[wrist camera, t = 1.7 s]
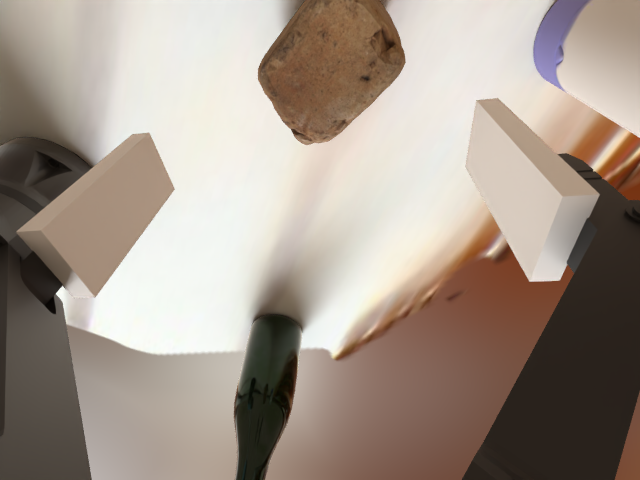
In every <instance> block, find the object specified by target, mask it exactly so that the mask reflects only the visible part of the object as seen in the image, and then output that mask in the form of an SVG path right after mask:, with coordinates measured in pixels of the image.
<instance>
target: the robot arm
mask: <svg viewBox="0 0 640 480" xmlns="http://www.w3.org/2000/svg"><path fill="white" fill-rule="evenodd" d="M465 167H466V169H467V171H468V173H469V175H470V176H471V178H472V180H473V182H474V183H475V185H476V187H477V189H478V191H479V192H480V194H481V196H482V198H483V199H484V201H485V203H486V205H487V207H488V208H489V210H490V212H491V214H492V215H493V217H494V219H495V221H496V223H497V224H498V226H499V228H500V230H501V231H502V233H503V235H504V237H505V239H506V240H507V242H508V244H509V246H510V247H511V249H512V251H513V253H514V255H515V256H516V258H517V260H518V261H519V263H520V265H521V267H522V269H523V271H524V272H525V274H526V276H527V278H528V279H529V281H557V280H560V279H561V276H562V274H563V272H564V270H565V268H566V266H567V264H568V265H569V267H570V268H571V269H572V271H573V272H574V275H573V277H572V279H571V280H570V282H569V284H568V286H567V288H566V290H565V292H564V294H563V295H562V297H561V299H560V301H559V303H558V305H557V306H556V308H555V310H554V312H553V314H552V316H551V318H550V320H549V321H548V323H547V325H546V327H545V329H544V331H543V332H542V334H541V336H540V338H539V340H538V342H537V344H536V345H535V347H534V349H533V351H532V353H531V355H530V357H529V358H528V360H527V362H526V364H525V366H524V368H523V370H522V371H521V373H520V375H519V377H518V379H517V381H516V383H515V384H514V386H513V388H512V390H511V392H510V394H509V396H508V398H507V399H506V401H505V403H504V405H503V407H502V409H501V410H500V412H499V414H498V416H497V418H496V420H495V422H494V424H493V425H492V427H491V429H490V431H489V433H488V435H487V436H486V438H485V440H484V442H483V444H482V445H481V447H480V449H479V450H478V452H477V453H476V455H475V457H474V458H473V460H472V462H471V464H470V466H469V467H468V470H467V471H466V473H465V475H464V477H463V478H462V480H615V476H616V472H617V469H618V466H619V462H620V459H621V455H622V451H623V448H624V444H625V441H626V437H627V434H628V430H629V427H630V423H631V420H632V416H633V413H634V409H635V406H636V402H637V398H638V395H639V391H640V201H639V200H628V199H626V198H625V197H624V196H623V195H622V194H621V193H619V192H618V191H617V190H616V189H615V188H614V187H613V186H611V185H610V184H609V183H608V182H607V181H606V180H604V179H602V177H601V176H600V175H599V174H598V173H596V172H593V169H592V168H591V167H589V166H588V165H587V164H586V163H585V162H584V161H582V160H580V159H578V158H576V157H573V156H571V155H569V154H567V153H566V154H557V153H556V152H554V151H553V150H552V149H551V148H550V147H549V146H548V145H547V144H546V143H545V142H544V141H543V140H542V139H541V138H540V137H539V136H537V135H536V134H535V133H534V132H533V131H532V130H531V129H530V128H529V127H528V126H527V125H526V124H525V123H524V122H523V121H522V120H520V119H519V118H518V117H517V116H516V115H515V114H514V113H513V112H512V111H511V110H510V109H509V108H508V107H507V106H506V105H505V104H503V103H502V102H501V101H500V100H499V99H498V98H495V99H485V100H476V105H475V111H474V117H473V123H472V129H471V135H470V141H469V147H468V153H467V159H466V165H465ZM173 191H174V187H173V184H172V182H171V180H170V178H169V175H168V173H167V171H166V169H165V167H164V164H163V162H162V160H161V158H160V156H159V153H158V151H157V149H156V147H155V144H154V142H153V140H152V138H151V136H150V133H142V134H132V135H131V136H130V137H129V138H128V139H126V140H125V141H124V142H123V143H122V144H120V145H119V146H118V147H117V148H116V149H114V150H113V151H112V152H111V153H110V154H108V155H107V156H106V157H105V158H104V159H102V160H101V161H100V162H99V163H98V164H96V165H95V166H94V167H93V168H91V167H90V166H89V165H88V164H87V163H86V162H84V161H83V160H82V159H81V158H79V157H78V156H77V155H75V154H74V153H72V152H71V151H69V150H67V149H66V148H64V147H62V146H60V145H57V144H55V143H52V142H50V141H47V140H43V139H39V138H32V137H21V138H16V139H12V140H10V141H8V142H6V143H4V144H3V145H1V146H0V480H92V479H91V473H90V467H89V461H88V455H87V449H86V442H85V436H84V430H83V424H82V418H81V412H80V406H79V400H78V394H77V388H76V383H75V376H74V370H73V364H72V358H71V351H70V346H69V339H68V334H67V327H66V321H65V315H64V309H63V303H62V301H61V300H60V298H59V297H58V296H57V295H56V292H57V291H58V290H59V289H60V288H61V287H62V285H63V287H64V288H65V289H66V290H67V291H68V292H69V294H70V295H71V296H72V297H73V298H95V297H96V296H97V294H98V293H99V292H100V290H101V289H102V288H103V286H104V285H105V283H106V282H107V281H108V279H109V278H110V277H111V275H112V274H113V273H114V271H115V270H116V268H117V267H118V266H119V264H120V263H121V262H122V260H123V259H124V258H125V256H126V255H127V254H128V252H129V251H130V249H131V248H132V247H133V245H134V244H135V243H136V241H137V240H138V239H139V237H140V236H141V234H142V233H143V232H144V230H145V229H146V228H147V226H148V225H149V224H150V222H151V221H152V219H153V218H154V217H155V215H156V214H157V213H158V211H159V210H160V209H161V207H162V206H163V204H164V203H165V202H166V200H167V199H168V198H169V196H170V195H171V194H172V192H173Z"/></svg>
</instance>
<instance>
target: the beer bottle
mask: <svg viewBox="0 0 640 480" xmlns="http://www.w3.org/2000/svg"><path fill="white" fill-rule="evenodd" d="M301 341H302V330H301V328H300V326H299V325H298V324H297V323H296V322H295V321H294V320H292V319H290V318H288V317H285V316H281V315H266V316H262V317H260V318H258V319H257V320H255V321H254V323H253V324H252V326H251V330H250V333H249V337H248V341H247V345H246V350H245V354H244V359H243V363H242V367H241V372H240V376H239V381H238V385H237V391H236V396H235V402H234V423H235V432H236V441H237V467H236V474H235V480H265V479H266V474H267V470H268V467H269V463H270V460H271V458H272V455H273V452H274V450H275V448H276V446H277V444H278V442H279V440H280V438H281V436H282V434H283V432H284V430H285V428H286V426H287V423H288V420H289V417H290V414H291V410H292V405H293V399H294V394H295V387H296V379H297V372H298V365H299V357H300V349H301Z"/></svg>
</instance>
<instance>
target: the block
mask: <svg viewBox="0 0 640 480" xmlns="http://www.w3.org/2000/svg"><path fill="white" fill-rule="evenodd" d="M404 65H405V54H404V50H403V48H402V46H401V41H400V37H399V34H398V32H397V29H396V27H395V26H394V24H393V21H392V19H391V17H390V15H389V14H388V12H387V11H386V9H385V8H384V6H383V5H382V3H381V2H380V0H305V1H304V3H303V4H302V5H301V7H300V8H299V9H298V11H297V12H296V14H295V15H294V16H293V17H292V19H291V20H290V21H289V23H288V24H287V26H286V27H285V28H284V30H283V31H282V32H281V34H280V35H279V36H278V38H277V39H276V40H275V42H274V43H273V44H272V46H271V47H270V49H269V50H268V52H267V53H266V54H265V56H264V58H263V59H262V61H261V63H260V66H259V68H258V80H259V82H260V84H261V86H262V88H263V91H264V93H265V94H266V95H267V96H268V98H269V99H270V100H271V102H272V103H273V106H274V108H275V110H276V112H277V113H278V115H279V116H280V117H281V119H282V121H283V122H284V123H285V124H286V125H287V126H288V127H289V128H291V130H292V132H293V134H294V136H295V138H296V139H297V140H298V141H300V142H301V143H303V144H305V145H310V144H312V143H322V142H327V141H330V140H331V139H333V138H334V137H335V136H337V135H338V134H340V133H341V132H342V131H343V130H344V129H345V128H346V127H347V126H348V125H349V124H350V123H351V122H352V121H353V120H354V119H355V118H356V117H358V116H359V115H360V114H361V113H362V112H363V111H364V110H365V109H366V108H368V107H369V106H370V105H371V104H372V103H373V102H374V101H375V100H376V99H377V97H378V96H379V95H380V94H381V93H382V92H383V91H384V90H385V89H386V88H387V87H389V86H390V85H391V84H392V82H393V81H394V80H395V79H396V78H397V77H398V75H399V74H400V72H401V71H402V69H403V67H404Z"/></svg>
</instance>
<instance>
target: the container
mask: <svg viewBox="0 0 640 480" xmlns="http://www.w3.org/2000/svg"><path fill="white" fill-rule="evenodd" d="M534 62H535V66H536V68H537V70H538V72H539V73H540V75H541V76H542V77H543V78H544V79H545V80H547V81H548V82H550V83H552V84H553V85H555V86H557V87H558V88H560V89H561V90H563V91H565V92H566V93H568V94H570V95H571V96H573V97H574V98H576V99H578V100H579V101H581V102H583V103H584V104H586V105H587V106H589V107H591V108H592V109H594V110H596V111H597V112H599V113H600V114H602V115H604V116H605V117H607V118H609V119H610V120H612V121H613V122H615V123H617V124H618V125H620V126H622V127H623V128H625V129H626V130H628V131H630V132H631V133H633V134H635V135H636V136H638V137H639V138H640V0H557V1H556V3H555V4H554V5H553V6H552V7H551V9H550V10H549V12H548V13H547V14H546V16H545V18H544V19H543V21H542V23H541V25H540V27H539V30H538V32H537V35H536V39H535V43H534Z"/></svg>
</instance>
